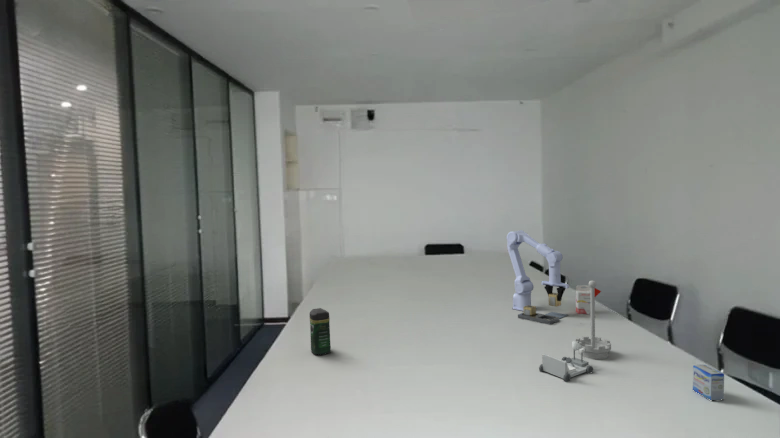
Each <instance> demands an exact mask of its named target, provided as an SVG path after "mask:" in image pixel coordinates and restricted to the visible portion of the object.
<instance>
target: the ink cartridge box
mask: <svg viewBox="0 0 780 438" xmlns="http://www.w3.org/2000/svg"><path fill="white" fill-rule="evenodd" d="M575 288H576V289H575V312H576V313H577V314H578V315H591V298H590V286H589V285H588V284H577V285H576V286H575Z"/></svg>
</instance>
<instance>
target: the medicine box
mask: <svg viewBox="0 0 780 438" xmlns="http://www.w3.org/2000/svg"><path fill="white" fill-rule="evenodd" d="M693 390H694V391H695V392H694V391H693ZM692 391H693V392H694V393H696V392H697V393H696V394H698V393H699V394H701V395H703V396H704V397H703V396H702V397H703V398H705V397H706V398H705V399H707V398H708V399H710V400H721V399H724V400H725V374H724V373H723V372H721V371H719V370H717V369H716V368H712V367H711V366H709V365H707V364H693V365H692ZM699 394H698V395H699ZM701 395H700V396H701ZM708 399H707V400H708ZM710 400H709V401H710ZM721 401H722V400H721Z"/></svg>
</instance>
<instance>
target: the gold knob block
mask: <svg viewBox="0 0 780 438" xmlns="http://www.w3.org/2000/svg"><path fill="white" fill-rule="evenodd" d="M561 305H562V300H561V301H558V292H552V293H550V294H549V297H548V306H549V307H550V306H551V307H560V306H561Z"/></svg>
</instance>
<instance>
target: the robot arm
mask: <svg viewBox="0 0 780 438" xmlns="http://www.w3.org/2000/svg"><path fill="white" fill-rule="evenodd" d="M505 237H506V242H507V243H506V248H507V251H508V255H509V258H510V262H511V265H512V268H513V272H514V275H515V279H514V282H513V283H514V290H515V292H514V293H513V296H512V310H517V311H522V312H524V306H527V305H531V306H532V291H533V290H534V288H535V287H534V286H535V285H534V283H533V282H532V280H531V279H530V277H529V276H528V275H527V273H526V270H525V268H524V264H523V261H522V258H521V256H520V255H521V254H520V250H519V247H520V245H521V244H522V243H525V244H527V245H529V246H531V247H533V248H534V249H535V250H536V252H537V254H540V255H541V256H542V257H544V258H545V259H546V261H547V264H548V280H542V281H541V284H540V285H541V286H543V287H544V290H545V291H546V293H547V296H548V298H549V294H550V293H553V291H554V287H555V288H556V291H557V292H556V293H558V301H561V302H562V298H563V295H564V293H565V290H566V289H569V288H570V284H568V283H565V282H562V280H561V279H562V278H561V277H562V276H561V272H562V271H561V270H562V269H561V262H562V260H563V254H562V252H561V251H559V250H555V249H554V248H551V247H549V246H548V244H547V243H543V242H542V243H539V242H538V241H537V240H536V239H534V238H533V237H532V236H531V235H529V234H528V232H525V231H524V230H522V229H520V230H514V231H512V230H511V231H509V232H508V233H507V235H506V236H505Z"/></svg>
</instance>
